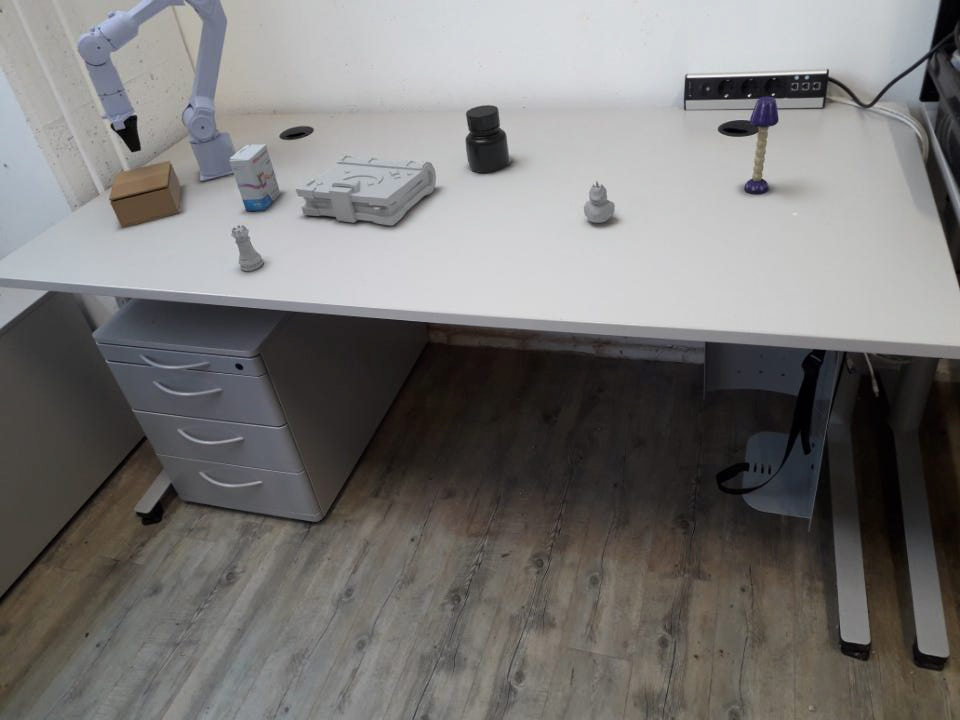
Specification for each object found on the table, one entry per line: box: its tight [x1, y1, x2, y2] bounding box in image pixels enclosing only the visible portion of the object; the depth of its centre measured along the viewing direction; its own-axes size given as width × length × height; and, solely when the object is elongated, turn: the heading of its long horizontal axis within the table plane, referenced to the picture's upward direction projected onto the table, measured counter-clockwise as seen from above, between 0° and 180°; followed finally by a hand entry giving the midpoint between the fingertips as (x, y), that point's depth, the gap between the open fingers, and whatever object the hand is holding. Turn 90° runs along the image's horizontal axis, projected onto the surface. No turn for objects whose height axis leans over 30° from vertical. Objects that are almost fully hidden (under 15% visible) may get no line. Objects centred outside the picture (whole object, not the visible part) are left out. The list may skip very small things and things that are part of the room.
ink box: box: [230, 144, 281, 212], centre depth 162 cm, size 9×5×12 cm, turn 168°
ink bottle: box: [464, 104, 510, 174], centre depth 161 cm, size 10×9×12 cm
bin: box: [108, 163, 182, 228], centre depth 171 cm, size 16×12×7 cm
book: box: [295, 154, 437, 226], centre depth 156 cm, size 19×28×8 cm
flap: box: [112, 160, 171, 186], centre depth 172 cm, size 8×12×1 cm, turn 107°
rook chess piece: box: [231, 224, 264, 272], centre depth 140 cm, size 4×4×8 cm
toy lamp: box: [743, 96, 780, 195], centre depth 133 cm, size 5×5×17 cm
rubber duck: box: [583, 180, 616, 224], centre depth 135 cm, size 5×7×8 cm
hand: (136, 150), depth 174 cm, fingers closed
